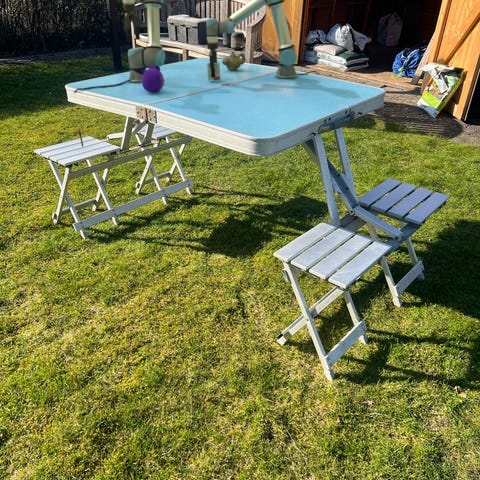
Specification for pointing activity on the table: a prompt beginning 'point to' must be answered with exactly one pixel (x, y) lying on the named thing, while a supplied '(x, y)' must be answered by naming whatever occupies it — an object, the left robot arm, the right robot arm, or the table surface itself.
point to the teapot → (233, 61)
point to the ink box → (217, 71)
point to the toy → (152, 79)
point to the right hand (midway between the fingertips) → (214, 76)
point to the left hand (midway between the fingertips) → (133, 40)
